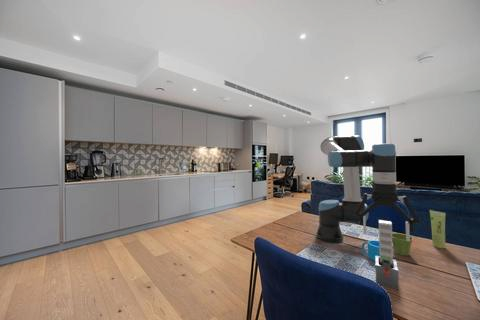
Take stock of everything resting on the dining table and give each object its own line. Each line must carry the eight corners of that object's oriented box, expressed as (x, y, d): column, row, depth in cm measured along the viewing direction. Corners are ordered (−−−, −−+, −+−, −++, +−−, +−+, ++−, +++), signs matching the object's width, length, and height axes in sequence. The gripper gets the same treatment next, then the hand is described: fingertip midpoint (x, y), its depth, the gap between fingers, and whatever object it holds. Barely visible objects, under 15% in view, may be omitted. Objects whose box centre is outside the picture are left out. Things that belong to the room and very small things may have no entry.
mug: (392, 263, 91) (392, 245, 91) (381, 267, 87) (381, 249, 87) (367, 252, 102) (367, 236, 102) (356, 255, 98) (356, 239, 99)
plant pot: (408, 259, 93) (407, 241, 93) (386, 251, 102) (385, 235, 102) (417, 254, 98) (416, 237, 98) (395, 247, 106) (395, 231, 106)
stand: (358, 283, 76) (358, 258, 76) (360, 269, 86) (360, 247, 86) (420, 301, 66) (419, 273, 66) (414, 283, 76) (413, 258, 76)
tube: (431, 246, 106) (430, 211, 106) (430, 243, 110) (429, 209, 110) (446, 249, 103) (445, 213, 103) (444, 246, 106) (443, 211, 107)
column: (379, 264, 75) (379, 223, 75) (379, 258, 79) (378, 219, 79) (393, 267, 72) (392, 224, 73) (391, 260, 77) (390, 221, 77)
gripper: (347, 182, 80) (348, 232, 80) (429, 185, 66) (431, 247, 66) (349, 180, 86) (350, 227, 86) (425, 183, 72) (426, 239, 72)
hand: (385, 236), depth 76 cm, fingers open, 13 cm apart
